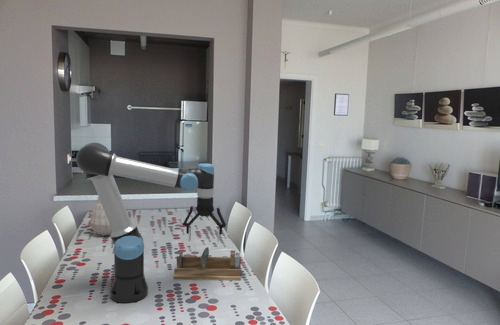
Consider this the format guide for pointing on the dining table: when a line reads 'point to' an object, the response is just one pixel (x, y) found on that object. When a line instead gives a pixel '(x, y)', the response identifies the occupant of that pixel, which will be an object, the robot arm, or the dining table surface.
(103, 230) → the vase
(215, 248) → the dining table surface
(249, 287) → the dining table surface
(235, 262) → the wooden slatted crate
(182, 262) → the bookend
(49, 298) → the dining table surface
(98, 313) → the dining table surface
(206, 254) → the stone
